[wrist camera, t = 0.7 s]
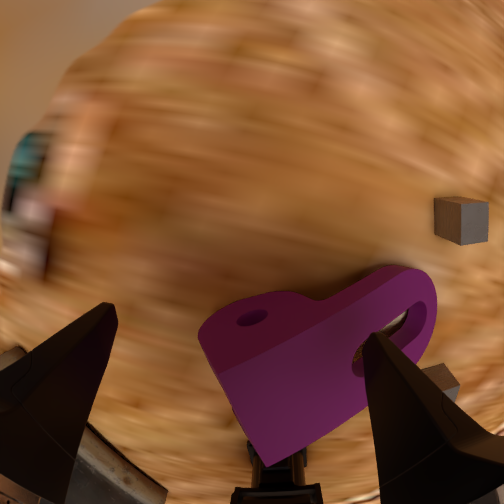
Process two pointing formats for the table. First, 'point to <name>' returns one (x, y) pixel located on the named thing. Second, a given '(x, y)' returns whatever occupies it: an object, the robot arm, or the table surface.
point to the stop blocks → (462, 233)
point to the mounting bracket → (310, 354)
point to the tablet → (101, 470)
